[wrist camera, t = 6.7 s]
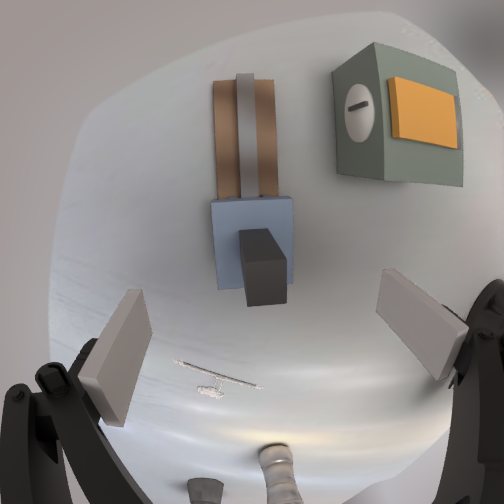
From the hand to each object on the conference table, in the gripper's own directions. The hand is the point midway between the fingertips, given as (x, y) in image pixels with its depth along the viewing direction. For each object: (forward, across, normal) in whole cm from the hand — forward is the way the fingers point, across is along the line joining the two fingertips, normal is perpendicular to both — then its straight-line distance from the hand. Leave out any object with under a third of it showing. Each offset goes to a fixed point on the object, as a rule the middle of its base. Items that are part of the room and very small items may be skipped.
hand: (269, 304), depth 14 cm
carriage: (+15, 0, 0) cm, 15 cm away
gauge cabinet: (+16, -15, -12) cm, 25 cm away
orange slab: (+6, -15, -12) cm, 20 cm away
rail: (+17, 0, -6) cm, 18 cm away
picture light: (+17, +6, +22) cm, 29 cm away
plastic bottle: (+16, -3, +44) cm, 47 cm away
